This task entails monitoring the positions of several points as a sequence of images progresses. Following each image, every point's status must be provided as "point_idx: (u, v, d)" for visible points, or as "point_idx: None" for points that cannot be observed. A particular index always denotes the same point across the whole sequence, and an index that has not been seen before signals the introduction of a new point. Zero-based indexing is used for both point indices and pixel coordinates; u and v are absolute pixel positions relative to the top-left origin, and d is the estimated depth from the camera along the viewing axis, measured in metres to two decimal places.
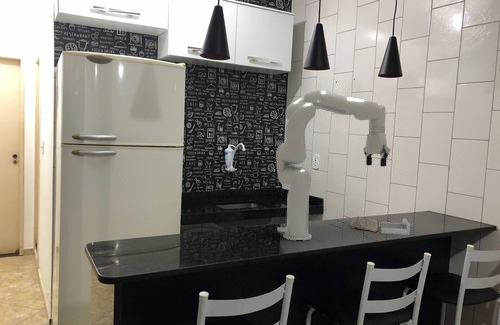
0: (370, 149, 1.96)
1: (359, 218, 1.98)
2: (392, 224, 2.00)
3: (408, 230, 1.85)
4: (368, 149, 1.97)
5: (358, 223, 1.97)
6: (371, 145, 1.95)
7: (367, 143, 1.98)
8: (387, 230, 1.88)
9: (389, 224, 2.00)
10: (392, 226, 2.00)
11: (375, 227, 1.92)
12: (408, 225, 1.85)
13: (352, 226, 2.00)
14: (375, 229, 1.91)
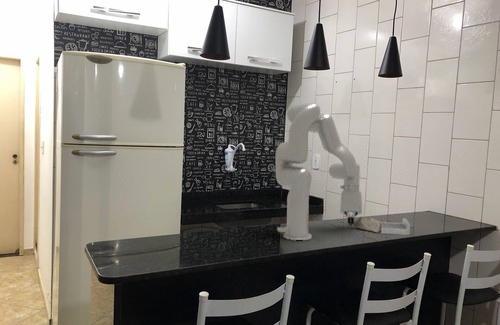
0: (348, 207, 1.96)
1: (362, 218, 1.96)
2: (392, 224, 2.00)
3: (408, 230, 1.85)
4: (345, 207, 1.96)
5: (360, 223, 1.96)
6: (350, 203, 1.96)
7: (344, 201, 1.97)
8: (387, 230, 1.88)
9: (389, 224, 2.00)
10: (392, 226, 2.00)
11: (377, 228, 1.90)
12: (408, 225, 1.85)
13: (355, 226, 1.99)
14: (377, 230, 1.90)
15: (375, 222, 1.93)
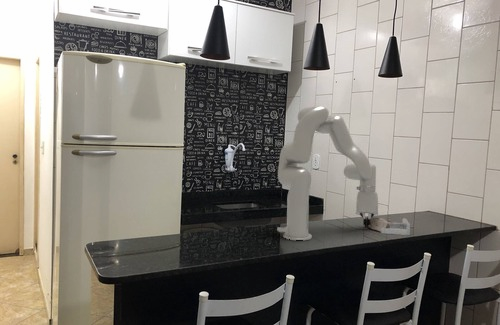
0: (364, 208, 1.94)
1: (372, 218, 1.98)
2: (392, 224, 2.00)
3: (408, 230, 1.85)
4: (361, 208, 1.94)
5: (370, 223, 1.98)
6: (366, 204, 1.94)
7: (360, 202, 1.95)
8: (387, 230, 1.88)
9: None
10: (392, 226, 2.00)
11: None
12: (408, 225, 1.85)
13: None
14: None
15: (383, 222, 1.93)
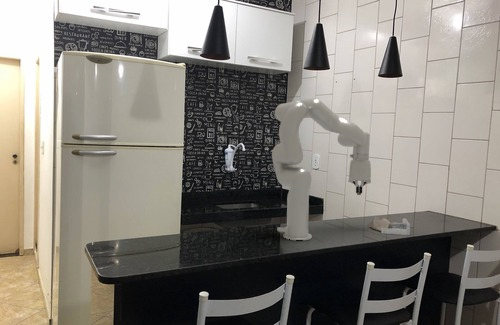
0: (357, 176, 1.94)
1: (374, 218, 1.98)
2: (392, 224, 2.00)
3: (408, 230, 1.85)
4: (354, 176, 1.94)
5: (372, 223, 1.98)
6: (359, 171, 1.94)
7: (352, 170, 1.94)
8: (387, 230, 1.88)
9: None
10: (392, 226, 2.00)
11: None
12: (408, 225, 1.85)
13: (369, 225, 2.01)
14: None
15: (385, 222, 1.92)
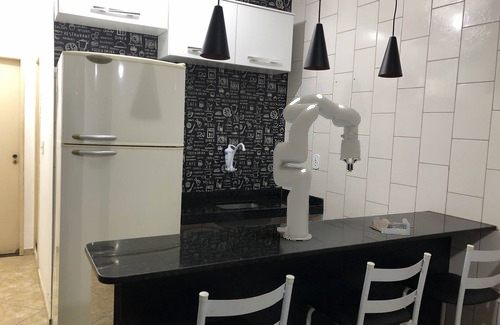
0: (348, 154, 2.10)
1: (375, 218, 1.98)
2: (392, 224, 2.00)
3: (408, 230, 1.85)
4: (345, 154, 2.10)
5: (373, 223, 1.98)
6: (350, 150, 2.09)
7: (343, 148, 2.10)
8: (387, 230, 1.88)
9: None
10: (392, 226, 2.00)
11: None
12: (408, 225, 1.85)
13: (370, 225, 2.01)
14: None
15: (385, 222, 1.92)
